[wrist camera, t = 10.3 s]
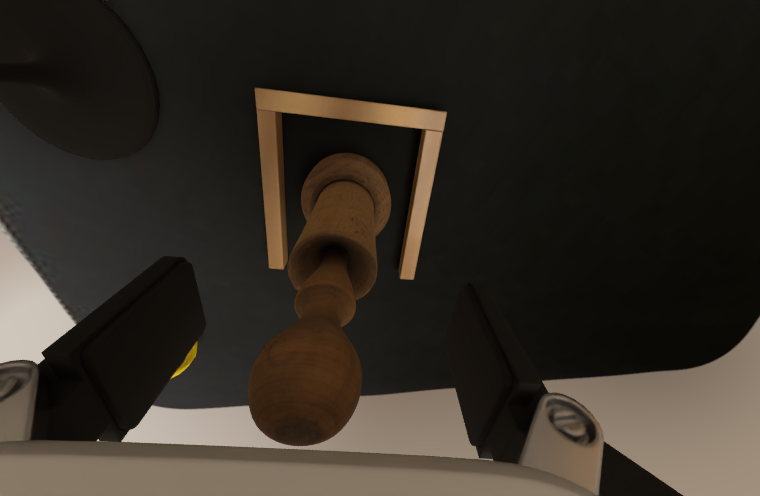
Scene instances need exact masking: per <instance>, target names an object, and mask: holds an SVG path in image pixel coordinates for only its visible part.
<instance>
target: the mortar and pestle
mask: <svg viewBox="0 0 760 496" xmlns="http://www.w3.org/2000/svg"><path fill="white" fill-rule="evenodd" d="M301 206H302V211H303V214H304V216H305V218H306V220H307V223H306V225H305V227H304V229H303V231H302V233H301V235H300V237H299V239H298V241H297V243H296V245H295V246H294V248H293V250H292V252H291V255H290V257H289V261H288V274H289V277H290V280H291V282H292V284H293V286H294V287H295V288H296V289H297V291H298V293H297V295H296V298H295V310H296V312H297V314H298V316H299V317H300V318H301V319H300V320H299V321H298V322H296V323H294V324H292V325H291V326H289V327H288V328H286V329H285V330H283V331H282V332H280V333H279V334H277V335H276V336H275V337H273V338H272V339H271V340H270V341H269V342H268V343H267V344H266V345H265V347H264V348H263V349H262V351H261V352H260V353H259V355H258V357H257V359H256V361H255V363H254V365H253V368H252V371H251V374H250V378H249V384H248V402H249V408H250V412H251V415H252V418H253V420H254V422H255V424H256V425H257V427H258V428H259V429H260V430H261V431H262V432H263V433H264V434H265V435H266V436H268V437H269V438H271V439H273V440H275V441H277V442H279V443H282V444H286V445H293V446H308V445H314V444H318V443H321V442H324V441H326V440H328V439H330V438H331V437H333V436H334V435H336V434H337V433H338V432H339V431H340V430H341V429H342V428H343V427H344V426H345V425H346V424H347V422H348V421H349V419H350V418H351V416H352V415H353V413H354V411H355V409H356V406H357V403H358V401H359V397H360V393H361V387H362V370H361V365H360V361H359V358H358V355H357V353H356V351H355V349H354V347H353V345H352V344H351V342H350V341H349V339H348V337H347V336H346V334H345V333H344V331H343V330H342V328H341V327H342V326H344V325H346V324H347V323H348V322H349V321H350V320H351V319H352V317H353V316H354V313H355V309H356V303H355V301H356V300H358V299H360V298H361V297H363V296H364V295H365V294H366V293H368V291H369V290H370V289H371V288H372V287H373V285H374V283H375V280H376V276H377V258H376V245H375V236H376V235H378V234H379V233H380V232H381V231H382V229H383V228H384V226H385V225H386V223H387V221H388V218H389V215H390V210H391V197H390V192H389V187H388V184H387V181H386V178H385V176H384V175H383V173H382V171H381V170H380V169H379V168H378V167H377V166H376V165H375V164H374V163H373V162H372V161H370V160H369V159H367V158H365V157H363V156H361V155H358V154H354V153H337V154H333V155H330V156H328V157H326V158H324V159H322V160H321V161H320V162H319V163H317V164H316V166H315V167H314V168H313V169H312V171H311V172H310V174H309V175H308V177H307V178H306V180H305V182H304V185H303V188H302V193H301Z"/></svg>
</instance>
